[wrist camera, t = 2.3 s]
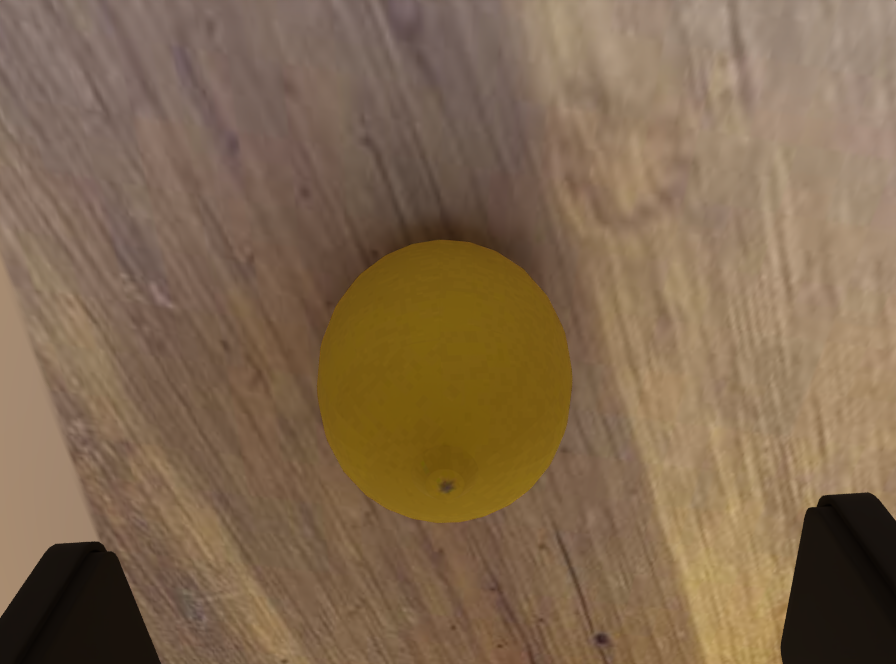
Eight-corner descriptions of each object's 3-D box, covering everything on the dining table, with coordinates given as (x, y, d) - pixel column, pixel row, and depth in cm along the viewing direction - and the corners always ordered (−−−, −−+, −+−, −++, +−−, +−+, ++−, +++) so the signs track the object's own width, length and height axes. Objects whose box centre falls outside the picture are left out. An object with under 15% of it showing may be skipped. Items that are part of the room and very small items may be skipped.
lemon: (454, 417, 21) (458, 643, 14) (302, 305, 20) (220, 499, 12) (589, 288, 19) (673, 474, 12) (433, 152, 18) (427, 277, 11)
